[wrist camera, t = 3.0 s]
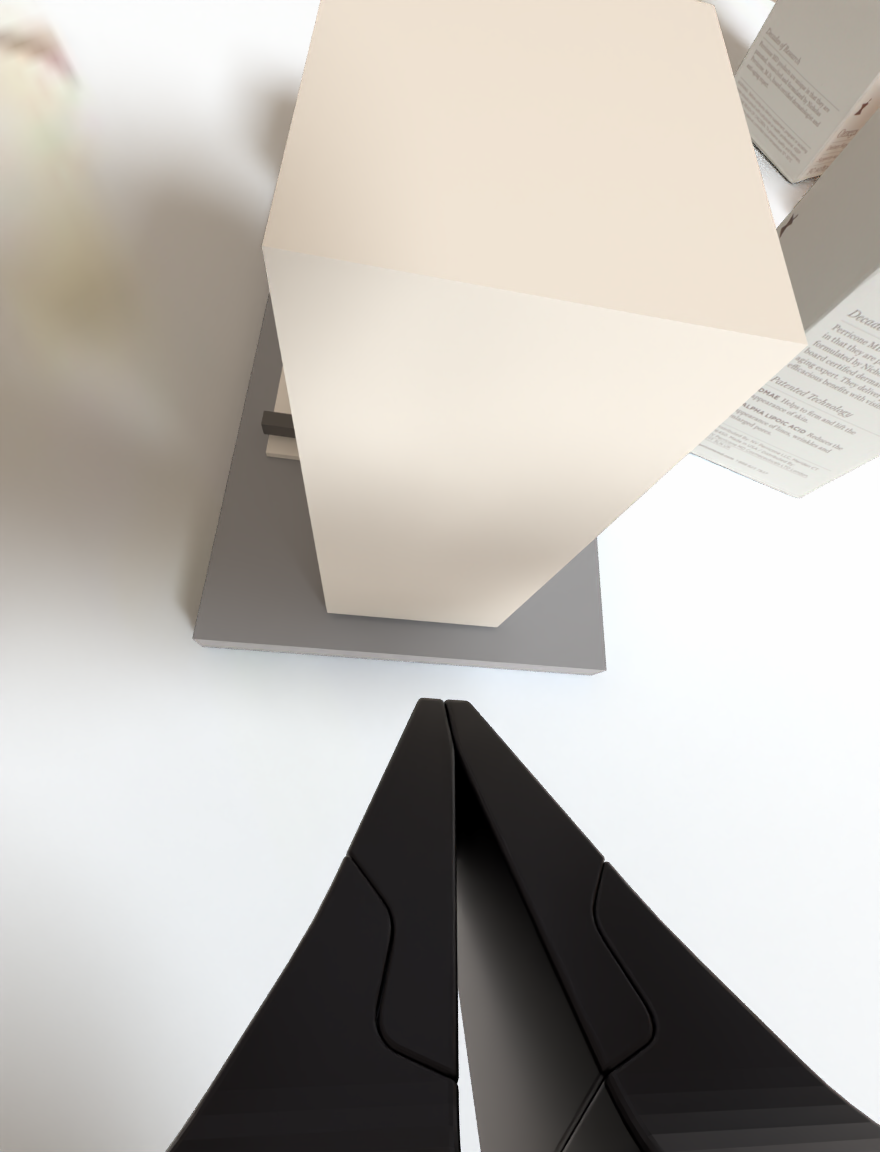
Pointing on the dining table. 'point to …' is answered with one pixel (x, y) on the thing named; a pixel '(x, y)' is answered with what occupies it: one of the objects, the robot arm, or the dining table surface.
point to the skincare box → (821, 339)
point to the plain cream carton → (510, 285)
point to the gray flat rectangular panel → (294, 588)
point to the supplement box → (811, 81)
